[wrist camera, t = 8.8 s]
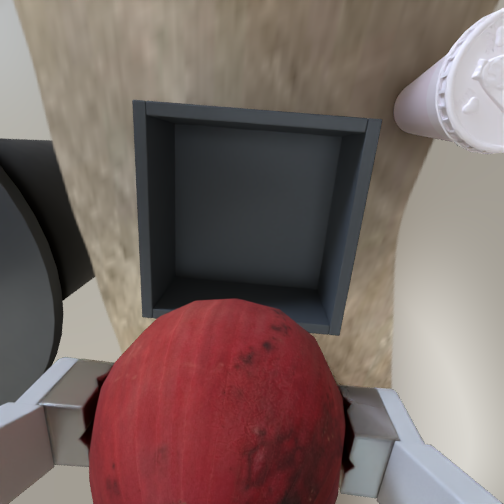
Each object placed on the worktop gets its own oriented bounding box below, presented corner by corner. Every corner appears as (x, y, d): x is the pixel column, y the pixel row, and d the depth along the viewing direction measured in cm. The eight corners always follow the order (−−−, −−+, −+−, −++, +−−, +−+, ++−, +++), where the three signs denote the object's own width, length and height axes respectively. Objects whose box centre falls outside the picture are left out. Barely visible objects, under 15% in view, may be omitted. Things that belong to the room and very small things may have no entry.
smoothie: (439, 161, 24) (648, 176, 11) (362, 140, 24) (480, 129, 11) (478, 72, 22) (793, -41, 9) (395, 48, 22) (591, -106, 9)
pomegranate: (278, 229, 10) (316, 500, 2) (340, 365, 11) (485, 791, 4) (129, 295, 11) (-188, 633, 3) (205, 411, 12) (108, 821, 5)
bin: (169, 280, 29) (141, 317, 22) (167, 112, 24) (131, 99, 18) (323, 294, 28) (339, 336, 22) (352, 127, 24) (382, 119, 17)
